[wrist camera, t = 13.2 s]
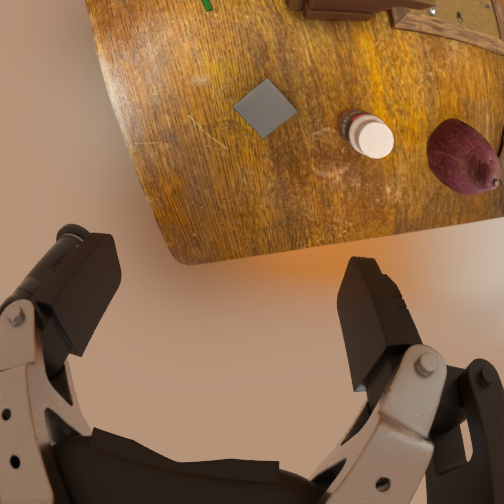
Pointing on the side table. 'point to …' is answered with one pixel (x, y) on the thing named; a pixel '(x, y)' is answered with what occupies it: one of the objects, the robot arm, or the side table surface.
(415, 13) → the picture frame
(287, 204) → the side table surface
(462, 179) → the vegetable
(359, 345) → the robot arm
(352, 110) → the pill bottle
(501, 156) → the decorative stone
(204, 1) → the decorative flower
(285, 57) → the side table surface
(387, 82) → the side table surface
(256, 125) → the grey block
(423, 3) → the wooden toy train
